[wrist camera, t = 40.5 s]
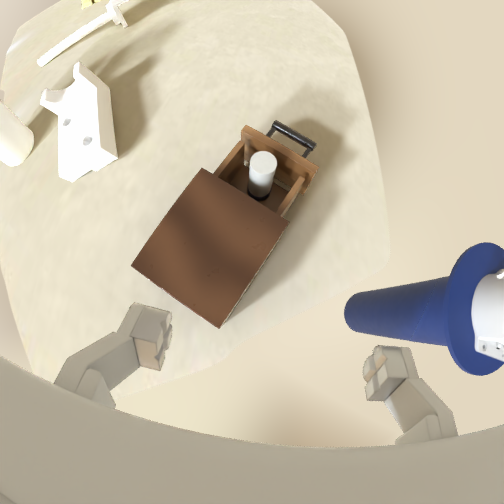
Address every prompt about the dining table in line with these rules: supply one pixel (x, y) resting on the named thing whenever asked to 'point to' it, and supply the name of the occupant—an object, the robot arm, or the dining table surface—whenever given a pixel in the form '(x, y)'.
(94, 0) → the slatted curved stool
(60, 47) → the white block on rod
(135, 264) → the cabinet
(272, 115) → the dining table surface
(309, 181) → the drawer
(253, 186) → the tube
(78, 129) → the white cradle stand
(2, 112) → the alcohol
